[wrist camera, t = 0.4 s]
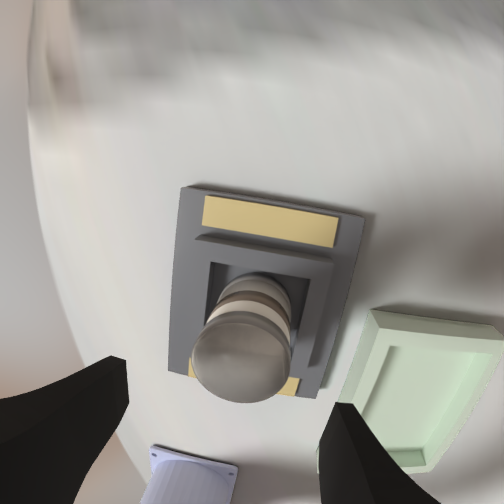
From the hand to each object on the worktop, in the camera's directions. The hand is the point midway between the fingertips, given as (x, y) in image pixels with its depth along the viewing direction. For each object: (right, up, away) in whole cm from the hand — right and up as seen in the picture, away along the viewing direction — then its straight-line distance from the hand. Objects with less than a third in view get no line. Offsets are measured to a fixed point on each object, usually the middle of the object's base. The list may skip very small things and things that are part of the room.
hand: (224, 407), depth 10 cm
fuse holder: (+1, +2, +9) cm, 10 cm away
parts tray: (+12, -5, +10) cm, 17 cm away
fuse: (+1, +2, +9) cm, 9 cm away
